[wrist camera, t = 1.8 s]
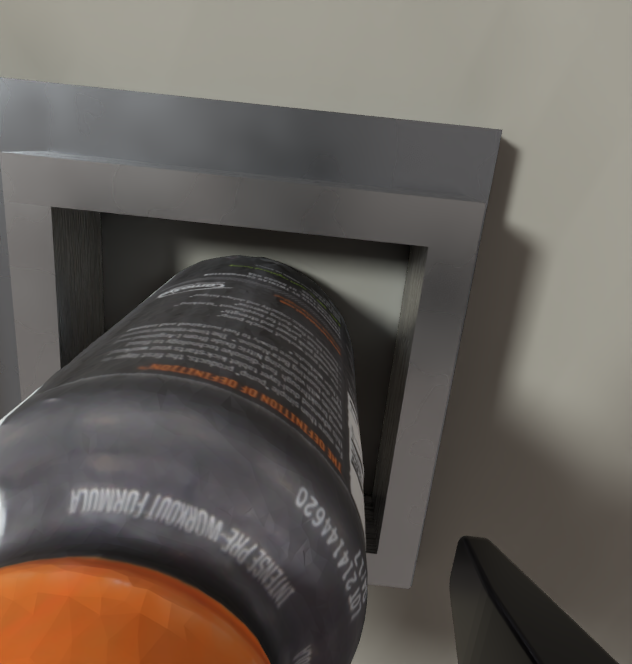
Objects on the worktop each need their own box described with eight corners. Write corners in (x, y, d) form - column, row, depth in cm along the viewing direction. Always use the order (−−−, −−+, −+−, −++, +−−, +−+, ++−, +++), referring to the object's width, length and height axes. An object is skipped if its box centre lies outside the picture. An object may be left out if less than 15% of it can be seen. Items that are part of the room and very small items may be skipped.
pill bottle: (98, 330, 15) (-496, 783, 4) (269, 205, 14) (22, 417, 3) (229, 484, 17) (26, 1108, 6) (395, 385, 15) (527, 952, 5)
